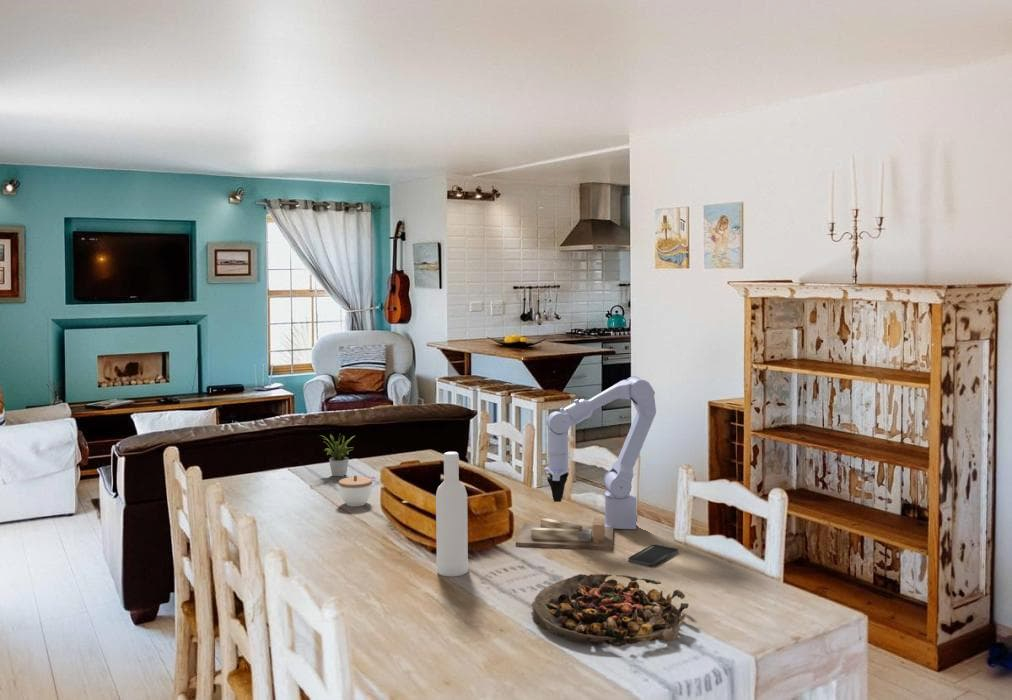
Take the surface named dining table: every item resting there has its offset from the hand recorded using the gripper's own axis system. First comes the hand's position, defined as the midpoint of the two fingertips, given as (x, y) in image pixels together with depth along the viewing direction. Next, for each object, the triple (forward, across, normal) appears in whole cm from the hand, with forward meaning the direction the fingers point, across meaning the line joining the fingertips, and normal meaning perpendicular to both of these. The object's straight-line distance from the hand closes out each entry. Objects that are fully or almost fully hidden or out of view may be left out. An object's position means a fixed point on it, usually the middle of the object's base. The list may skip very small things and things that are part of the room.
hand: (558, 499), depth 250 cm
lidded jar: (+9, -18, -67) cm, 70 cm away
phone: (+9, +22, +27) cm, 36 cm away
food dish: (+9, +64, +16) cm, 66 cm away
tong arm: (+7, +7, +1) cm, 10 cm away
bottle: (+9, +40, -23) cm, 47 cm away
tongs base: (+8, +10, +3) cm, 13 cm away
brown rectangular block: (+7, +13, +12) cm, 19 cm away
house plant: (+9, -54, -87) cm, 103 cm away
